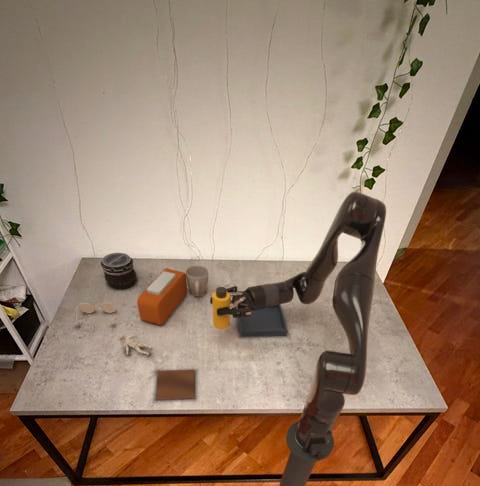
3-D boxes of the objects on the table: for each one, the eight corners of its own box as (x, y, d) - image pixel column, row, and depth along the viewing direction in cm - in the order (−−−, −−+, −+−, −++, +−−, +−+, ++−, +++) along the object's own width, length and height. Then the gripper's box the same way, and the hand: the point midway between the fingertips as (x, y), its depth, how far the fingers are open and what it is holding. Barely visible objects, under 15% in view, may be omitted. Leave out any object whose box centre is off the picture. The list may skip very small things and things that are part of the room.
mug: (187, 286, 143) (186, 265, 135) (208, 286, 143) (208, 265, 136) (187, 303, 136) (185, 282, 128) (209, 303, 136) (208, 282, 129)
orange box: (169, 288, 141) (166, 263, 132) (188, 293, 140) (185, 267, 131) (141, 322, 127) (134, 296, 118) (160, 327, 126) (156, 301, 117)
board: (194, 398, 106) (194, 397, 105) (156, 400, 105) (155, 398, 104) (194, 371, 113) (194, 369, 113) (158, 372, 112) (157, 370, 112)
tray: (286, 335, 127) (287, 330, 125) (241, 336, 125) (241, 331, 123) (279, 307, 137) (279, 302, 135) (237, 308, 135) (237, 303, 133)
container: (110, 272, 146) (104, 250, 138) (140, 274, 146) (135, 252, 139) (102, 289, 139) (95, 266, 131) (133, 291, 139) (128, 269, 131)
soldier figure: (143, 363, 116) (111, 347, 114) (147, 362, 120) (116, 346, 119) (153, 343, 114) (120, 326, 113) (156, 343, 119) (125, 326, 118)
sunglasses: (118, 312, 130) (114, 302, 126) (116, 329, 126) (112, 319, 122) (80, 312, 129) (76, 303, 124) (77, 329, 125) (72, 320, 121)
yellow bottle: (232, 326, 113) (233, 291, 102) (218, 331, 111) (217, 297, 100) (224, 316, 115) (224, 282, 105) (210, 321, 114) (208, 287, 103)
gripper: (254, 274, 112) (206, 283, 107) (272, 299, 104) (221, 309, 99) (253, 294, 118) (207, 303, 113) (270, 319, 110) (221, 330, 105)
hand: (214, 306), depth 106 cm, fingers closed on yellow bottle, 5 cm apart
